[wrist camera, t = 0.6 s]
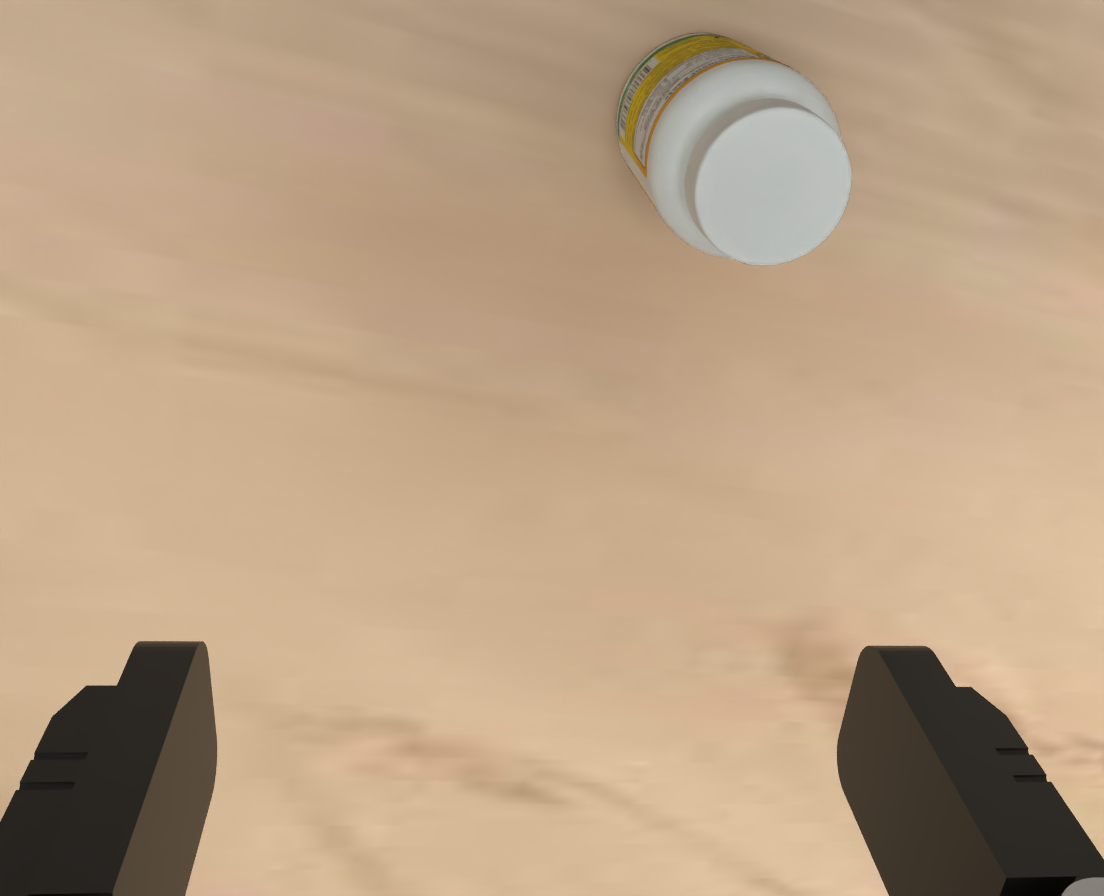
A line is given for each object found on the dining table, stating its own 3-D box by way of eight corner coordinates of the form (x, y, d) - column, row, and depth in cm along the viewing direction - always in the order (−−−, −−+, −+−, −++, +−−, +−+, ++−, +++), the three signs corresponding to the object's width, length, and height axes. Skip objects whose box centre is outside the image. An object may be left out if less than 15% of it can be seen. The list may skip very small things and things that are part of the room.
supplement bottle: (594, 64, 34) (641, 117, 25) (755, 7, 33) (859, 41, 25) (639, 221, 36) (696, 318, 28) (790, 170, 36) (895, 252, 27)
